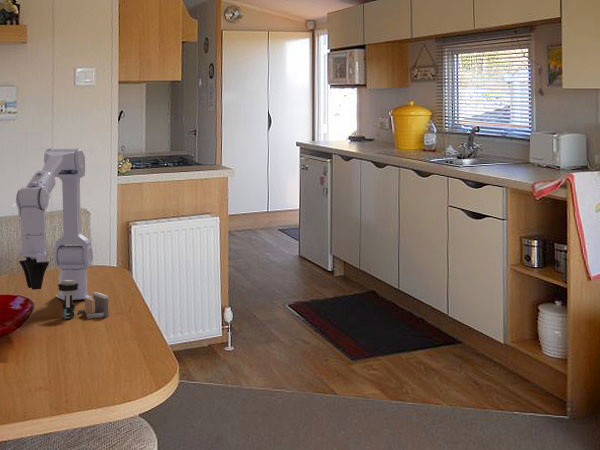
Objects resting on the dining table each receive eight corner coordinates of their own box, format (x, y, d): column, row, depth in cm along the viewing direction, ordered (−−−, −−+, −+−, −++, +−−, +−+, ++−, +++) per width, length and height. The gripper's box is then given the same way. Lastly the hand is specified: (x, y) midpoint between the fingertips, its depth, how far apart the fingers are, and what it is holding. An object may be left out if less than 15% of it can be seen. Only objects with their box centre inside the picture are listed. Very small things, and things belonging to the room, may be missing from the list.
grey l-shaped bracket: (77, 314, 196) (77, 293, 196) (97, 312, 199) (97, 291, 199) (88, 318, 189) (87, 297, 188) (108, 316, 192) (108, 295, 192)
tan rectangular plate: (85, 313, 196) (84, 297, 195) (87, 313, 196) (87, 297, 196) (92, 316, 191) (91, 300, 191) (95, 316, 191) (94, 299, 191)
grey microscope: (77, 319, 187) (76, 282, 187) (56, 320, 186) (55, 282, 186) (80, 315, 194) (79, 279, 193) (59, 316, 193) (59, 279, 192)
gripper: (9, 233, 182) (11, 286, 183) (23, 236, 171) (25, 293, 171) (38, 232, 186) (39, 284, 187) (53, 235, 175) (55, 290, 175)
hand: (34, 288), depth 179 cm, fingers open, 3 cm apart
